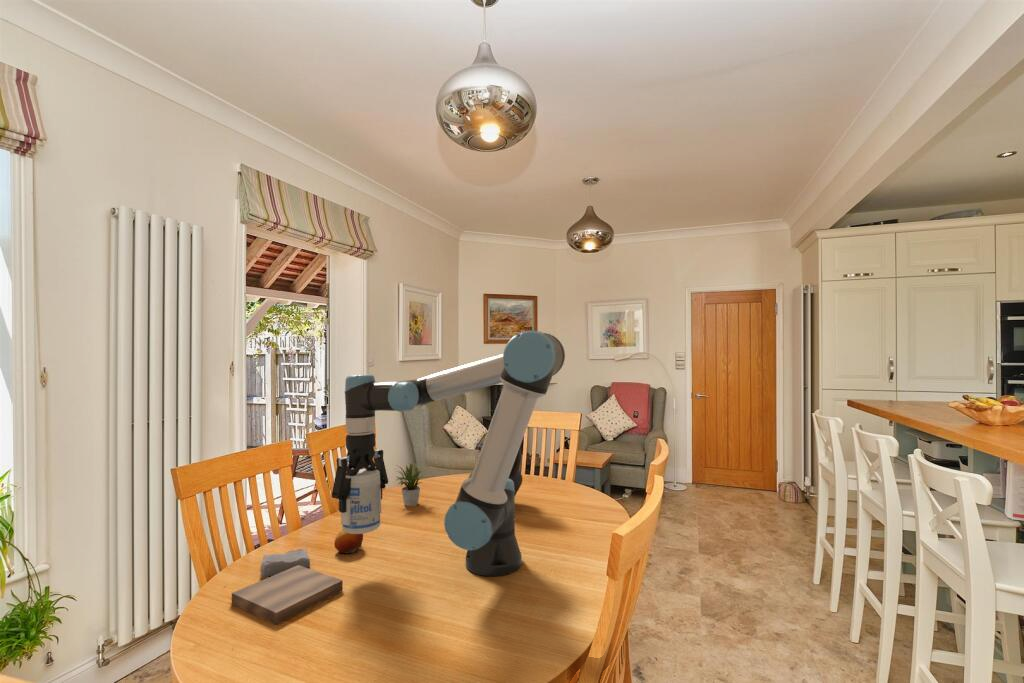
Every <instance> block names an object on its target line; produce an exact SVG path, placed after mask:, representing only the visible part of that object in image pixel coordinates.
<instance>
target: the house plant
mask: <svg viewBox="0 0 1024 683" xmlns="http://www.w3.org/2000/svg"><path fill="white" fill-rule="evenodd" d="M414 464H415V466H414ZM395 466H397V467H398V469H400V470H401V471H400V470H398V469H397V470H395V472H396V473H397V472H398V473H399V474H401V476H397V475H396V479H395V482H396V481H397V482H398V481H399V482H398V483H397V485H400V486H402V485H404V486H403V487H401V495H402V500H403V505H406V506H405V507H408V506H411V507H416V506H417V504H418V505H419V499H420V492H421V486H419V485H420V484H423V482H420V481H419V480H420V479H421V478H424V477H427V476H426V475H422V476H420V477H419V475H420V474H421V473H422V471H423V470H424V468H423V469H420V470H419V465H417V464H416V463H415V461H410V463H409V467H408V465H407V464H406V465H405V470H404V469H403V468H402V467H401V466H400V465H398V464H395ZM413 467H414V468H413ZM413 469H414V470H413ZM418 477H419V478H418ZM415 505H416V506H415Z"/></svg>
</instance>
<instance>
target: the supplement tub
mask: <svg viewBox="0 0 1024 683" xmlns="http://www.w3.org/2000/svg"><path fill="white" fill-rule="evenodd" d="M346 473H347V472H346ZM346 478H347V479H349V478H351V490H350V493H349V495H348V498H349V499H350V512H351V525H349V526H347V525H343V524H341V525H342V527H341V528H342V530H344V531H345V532H346V533H350V534H363V535H364V534H367V533H371V532H374V531H375V530H377V529H379V527H380V526H381V513H380V471H379V470H375V471H369V470H366V469H365V468H363V469H361V470H359V472H358V473H357V474H356V475H355V476H346Z"/></svg>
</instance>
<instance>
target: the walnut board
mask: <svg viewBox="0 0 1024 683" xmlns="http://www.w3.org/2000/svg"><path fill="white" fill-rule="evenodd" d="M342 590H343V579H340V578H337V577H334V576H331V575H330V574H329V575H328V574H325V573H323V572H320V571H316V570H314V569H311V568H305V567H303V566H300V565H298V566H295V567H293V568H290V569H288V570H286V571H283V572H281V573H279V574H276V575H274V576H271V577H266V578H263V579H262V580H260V581H257V582H255V583H252V584H250V585H247V586H245V587H244V588H243V587H242V588H241V589H239V590H236V591H234V592H231V605H233V606H235V607H237V608H240V609H241V610H243V611H245V612H247V613H249V614H252V615H254V616H256V617H259V618H260V619H263V620H265V621H267V622H269V623H271V624H273V625H275V626H277V625H279V624H280V623H283V622H285V621H287V620H289V619H291V618H293V617H295V616H296V614H297V615H298V613H299V614H300V613H303V612H304V611H306V610H308V609H310V608H312V607H314V606H316V605H318V604H320V603H322V602H323V600H324V601H326V600H328V599H329V597H330V598H331V597H333V596H335V595H337V594H339V593H341V592H343V591H342ZM340 591H341V592H340ZM327 598H328V599H327ZM325 599H326V600H325ZM321 601H322V602H321ZM319 602H320V603H319ZM317 603H318V604H317ZM315 604H316V605H315ZM313 605H314V606H313ZM311 606H312V607H311ZM309 607H310V608H309ZM307 608H308V609H307ZM294 615H295V616H294ZM290 617H291V618H290Z"/></svg>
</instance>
